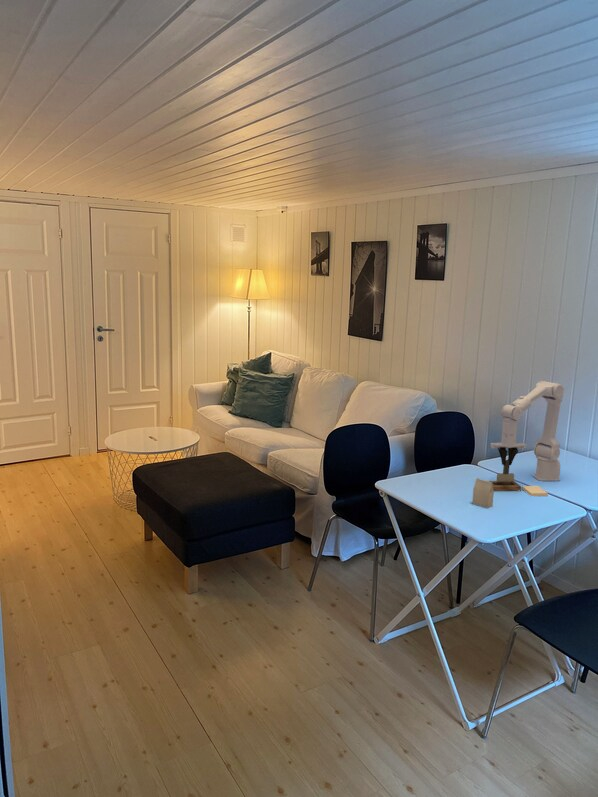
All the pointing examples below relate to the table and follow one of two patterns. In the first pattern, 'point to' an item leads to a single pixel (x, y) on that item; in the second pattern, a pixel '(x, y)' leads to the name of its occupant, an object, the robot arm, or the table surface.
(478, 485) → the tea bag
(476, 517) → the table surface
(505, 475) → the turner
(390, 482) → the table surface
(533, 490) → the tile
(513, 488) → the frame
